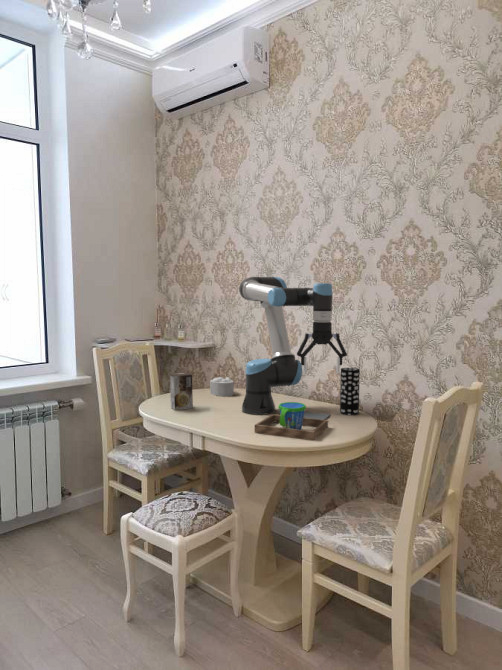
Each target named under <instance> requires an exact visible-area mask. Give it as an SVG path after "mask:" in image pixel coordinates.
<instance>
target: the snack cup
mask: <svg viewBox="0 0 502 670" xmlns="http://www.w3.org/2000/svg"><path fill="white" fill-rule="evenodd" d="M277 407H278V410H279V413H280V414H279V415H281V416H280V422H278V423H279V425H280V426H281V428H290V429H298V430H303V429H302V428H303V425H302V423H303V417H304V412H306V411H305V410H306V409H307V405H306V404H304V403H302V402H299V401H298V402H297V401H286V402H281V403H279V404H278V406H277Z"/></svg>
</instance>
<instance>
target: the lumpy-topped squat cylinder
mask: <svg viewBox="0 0 502 670" xmlns="http://www.w3.org/2000/svg"><path fill="white" fill-rule="evenodd" d="M209 382H210V384H209V388H210V389H209V394H210V395H212V394H213V396H215V395H217V396H216V397H232V395H233V394H234V390H235V389H234V380H232V379H231V378H230V377H228V376H227V377H225V378H223V376H219V377H214V378H213V379H211V380H210V381H209ZM233 396H234V395H233Z"/></svg>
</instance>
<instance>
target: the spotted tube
mask: <svg viewBox="0 0 502 670" xmlns="http://www.w3.org/2000/svg"><path fill="white" fill-rule="evenodd" d="M360 373H361V370H360V368H357V367H342V368H341V367H340V384H339V385H340V389H339V390H340V392H339V394H340V396H339V399H340V400H339V413H340V414H341V415H343V416H356V415H359V414H360V379H361V378H360Z"/></svg>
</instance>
